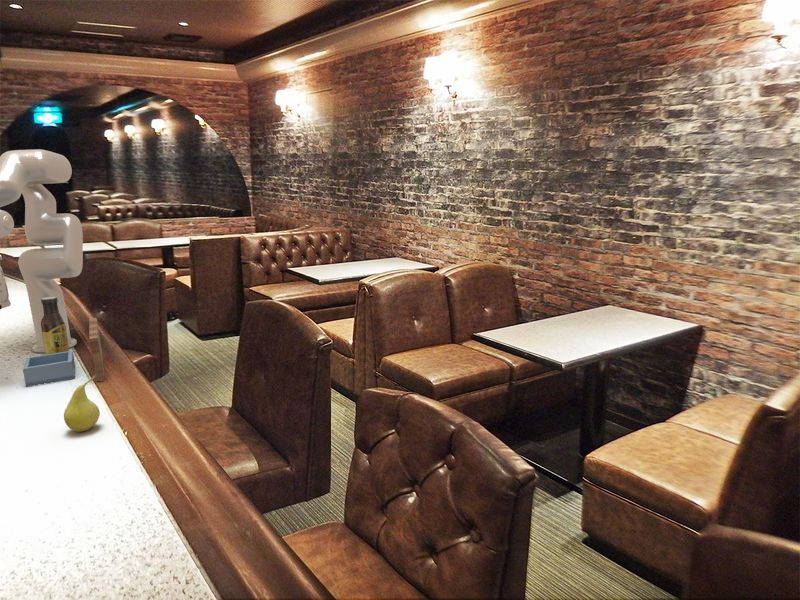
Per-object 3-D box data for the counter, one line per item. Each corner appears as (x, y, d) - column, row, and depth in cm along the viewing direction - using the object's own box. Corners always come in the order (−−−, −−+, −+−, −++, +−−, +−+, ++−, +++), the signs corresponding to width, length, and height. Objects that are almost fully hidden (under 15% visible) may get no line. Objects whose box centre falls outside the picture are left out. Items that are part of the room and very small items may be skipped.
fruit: (67, 427, 140) (58, 375, 137) (104, 420, 143) (96, 369, 140) (65, 438, 134) (55, 385, 131) (104, 431, 137) (95, 379, 134)
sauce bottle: (60, 368, 180) (48, 300, 176) (42, 368, 181) (29, 300, 177) (76, 361, 186) (65, 295, 182) (58, 360, 188) (46, 295, 183)
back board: (95, 357, 189) (89, 318, 186) (102, 356, 190) (96, 317, 187) (96, 382, 168) (89, 338, 165) (104, 380, 168) (97, 337, 166)
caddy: (29, 374, 176) (26, 357, 175) (75, 367, 181) (72, 350, 180) (26, 387, 166) (22, 369, 165) (74, 378, 171) (71, 361, 170)
